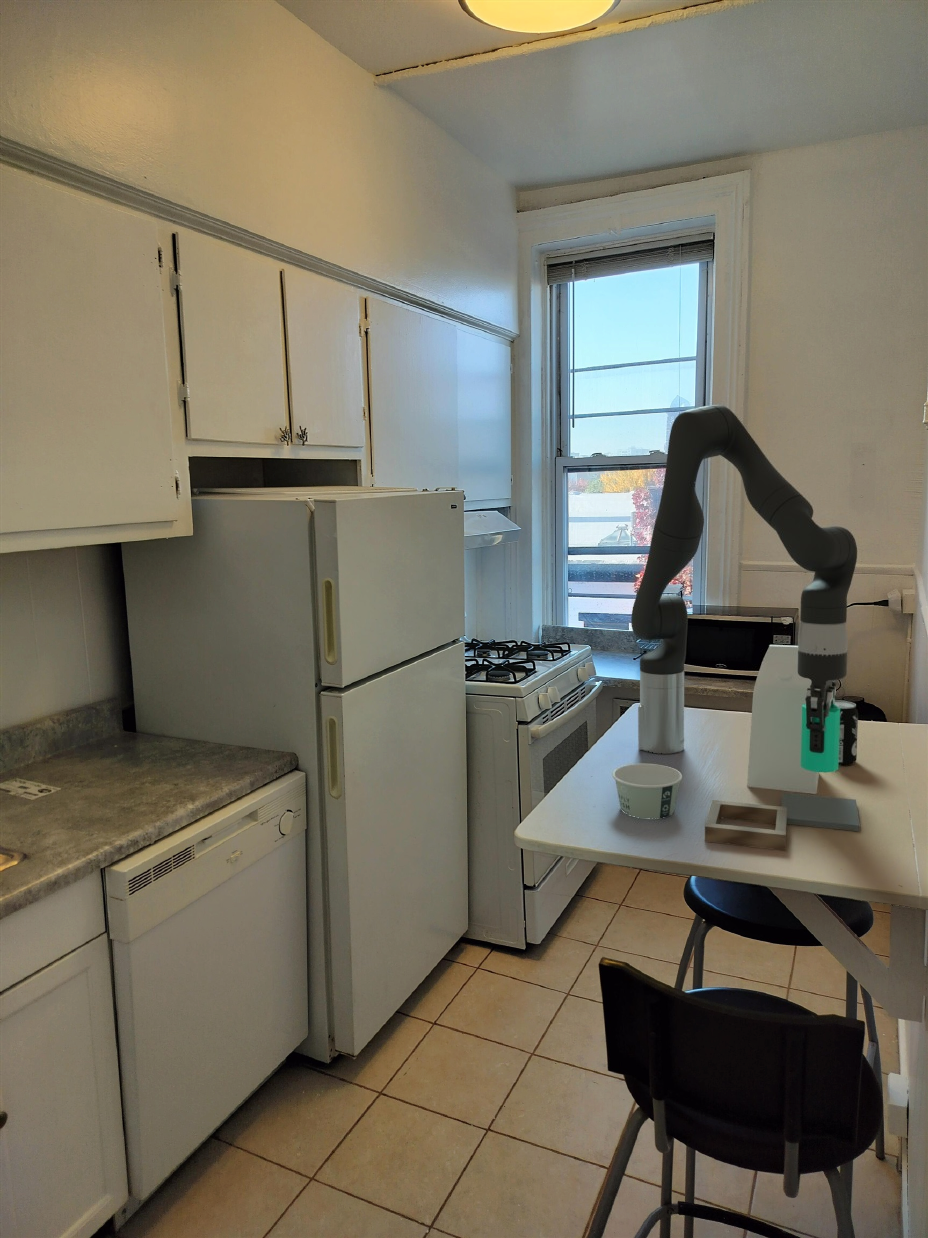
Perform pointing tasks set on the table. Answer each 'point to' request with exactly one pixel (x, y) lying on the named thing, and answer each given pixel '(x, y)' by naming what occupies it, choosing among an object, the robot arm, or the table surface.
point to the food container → (647, 789)
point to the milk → (779, 725)
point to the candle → (831, 744)
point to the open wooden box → (746, 834)
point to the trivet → (821, 811)
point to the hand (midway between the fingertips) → (819, 747)
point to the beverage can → (847, 732)
